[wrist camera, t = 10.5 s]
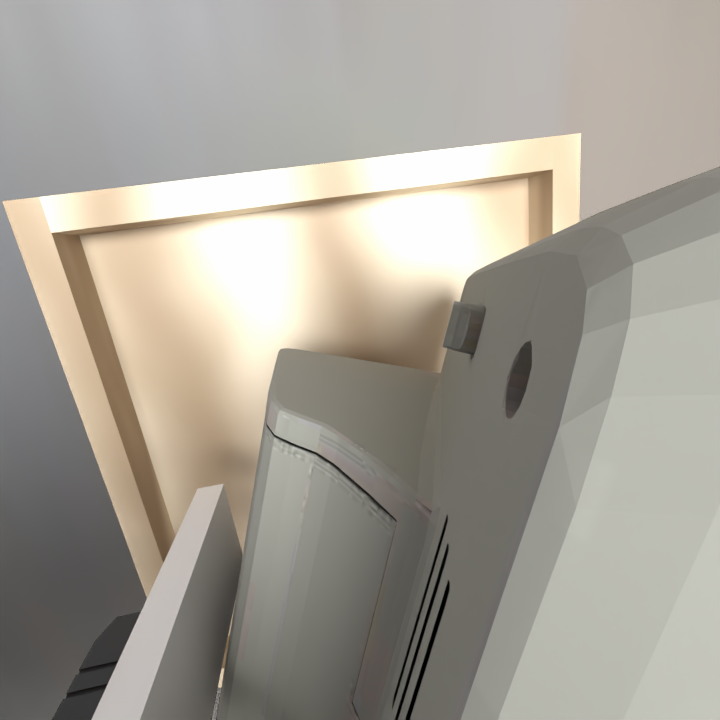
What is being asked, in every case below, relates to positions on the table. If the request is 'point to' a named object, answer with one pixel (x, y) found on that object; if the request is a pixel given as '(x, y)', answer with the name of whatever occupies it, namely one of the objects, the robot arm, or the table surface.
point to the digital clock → (503, 497)
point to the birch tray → (262, 299)
